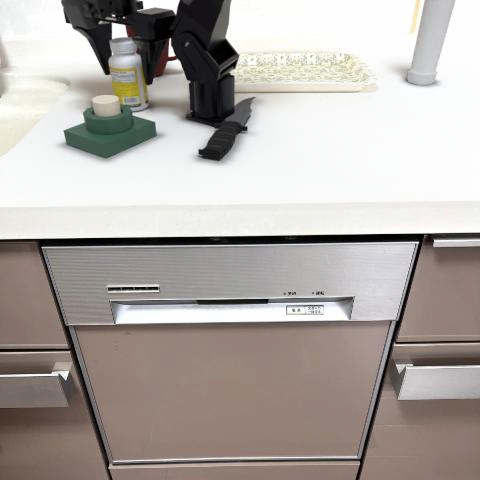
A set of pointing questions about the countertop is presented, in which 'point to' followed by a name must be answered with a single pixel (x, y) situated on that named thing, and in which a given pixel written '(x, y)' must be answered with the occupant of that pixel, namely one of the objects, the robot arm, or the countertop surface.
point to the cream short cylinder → (106, 105)
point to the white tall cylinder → (430, 40)
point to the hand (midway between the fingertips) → (128, 79)
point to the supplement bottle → (127, 74)
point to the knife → (227, 132)
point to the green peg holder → (109, 132)
